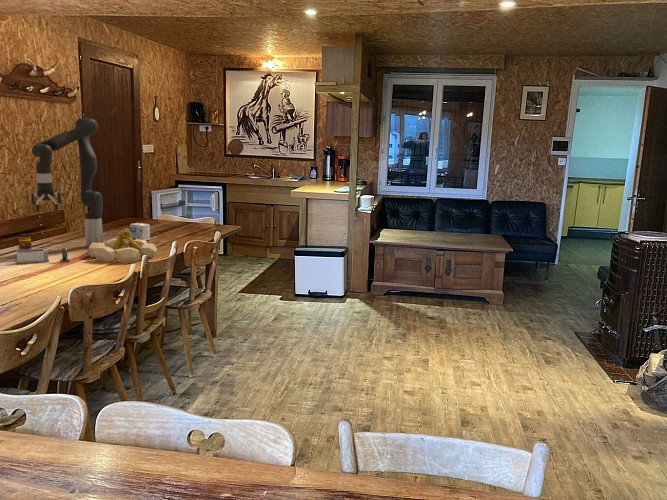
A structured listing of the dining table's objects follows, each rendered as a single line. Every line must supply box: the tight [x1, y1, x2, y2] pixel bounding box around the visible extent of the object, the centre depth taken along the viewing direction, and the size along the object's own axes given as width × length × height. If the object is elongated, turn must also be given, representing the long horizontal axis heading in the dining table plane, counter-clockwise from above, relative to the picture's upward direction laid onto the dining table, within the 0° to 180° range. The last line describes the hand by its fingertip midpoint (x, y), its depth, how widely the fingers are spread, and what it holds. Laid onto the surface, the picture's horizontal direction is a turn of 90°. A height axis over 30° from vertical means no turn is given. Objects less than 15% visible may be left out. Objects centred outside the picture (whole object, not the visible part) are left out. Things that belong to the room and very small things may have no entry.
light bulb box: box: [129, 222, 151, 242], centre depth 352 cm, size 11×7×11 cm, turn 68°
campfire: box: [86, 227, 158, 264], centre depth 304 cm, size 35×34×17 cm
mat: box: [15, 257, 50, 265], centre depth 286 cm, size 15×13×1 cm
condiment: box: [15, 233, 33, 257], centre depth 295 cm, size 7×8×12 cm
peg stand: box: [60, 247, 71, 263], centre depth 287 cm, size 4×4×7 cm
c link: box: [16, 247, 49, 263], centre depth 286 cm, size 14×10×5 cm
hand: (47, 211), depth 298 cm, fingers open, 8 cm apart
